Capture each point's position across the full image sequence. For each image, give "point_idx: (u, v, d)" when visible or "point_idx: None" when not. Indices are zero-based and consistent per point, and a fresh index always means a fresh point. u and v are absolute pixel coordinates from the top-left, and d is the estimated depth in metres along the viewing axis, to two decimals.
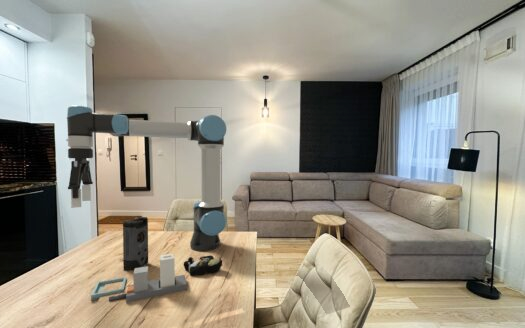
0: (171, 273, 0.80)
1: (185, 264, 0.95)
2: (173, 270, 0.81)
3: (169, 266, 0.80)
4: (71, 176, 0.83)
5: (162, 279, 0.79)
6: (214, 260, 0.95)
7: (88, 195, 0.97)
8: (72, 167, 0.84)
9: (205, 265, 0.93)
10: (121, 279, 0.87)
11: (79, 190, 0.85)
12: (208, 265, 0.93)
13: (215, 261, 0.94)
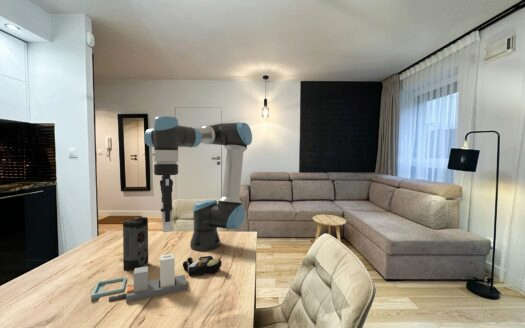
0: (171, 273, 0.80)
1: (184, 264, 0.94)
2: (173, 270, 0.81)
3: (169, 266, 0.80)
4: (164, 196, 0.73)
5: (162, 279, 0.79)
6: (213, 260, 0.94)
7: None
8: (164, 186, 0.74)
9: (204, 265, 0.92)
10: (121, 279, 0.87)
11: (171, 212, 0.75)
12: (207, 265, 0.92)
13: (214, 261, 0.94)
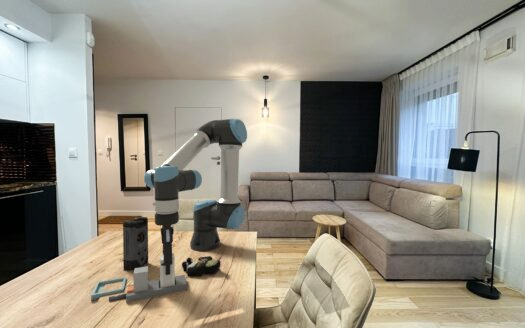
0: None
1: (183, 264, 0.94)
2: (173, 270, 0.81)
3: None
4: (165, 253, 0.76)
5: (162, 279, 0.79)
6: (212, 261, 0.94)
7: None
8: (164, 243, 0.76)
9: (203, 266, 0.92)
10: (121, 279, 0.87)
11: (171, 265, 0.79)
12: (206, 266, 0.92)
13: (213, 262, 0.93)
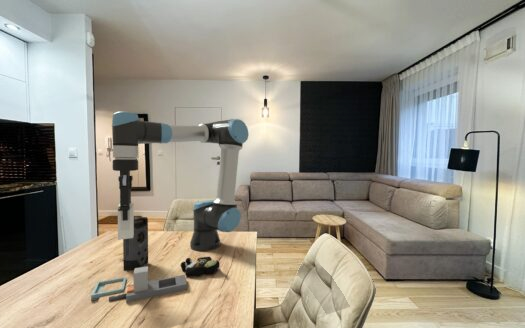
0: None
1: (182, 265, 0.94)
2: (131, 217, 0.80)
3: None
4: (121, 197, 0.75)
5: (119, 225, 0.79)
6: (211, 262, 0.93)
7: None
8: (120, 186, 0.75)
9: (201, 266, 0.91)
10: (121, 279, 0.87)
11: (128, 211, 0.79)
12: (204, 266, 0.92)
13: (212, 263, 0.93)
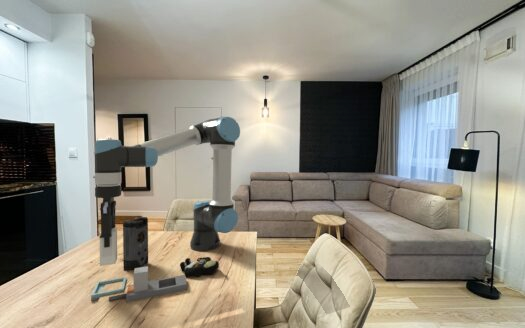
0: None
1: (181, 265, 0.94)
2: (113, 243, 0.81)
3: None
4: (102, 224, 0.76)
5: (101, 252, 0.79)
6: (210, 262, 0.93)
7: None
8: (101, 214, 0.76)
9: (200, 267, 0.91)
10: (121, 279, 0.87)
11: (110, 238, 0.80)
12: (204, 267, 0.91)
13: (211, 263, 0.93)
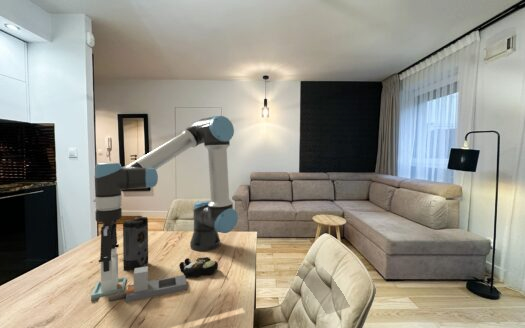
0: (112, 274, 0.81)
1: (181, 265, 0.94)
2: (114, 270, 0.81)
3: None
4: (102, 248, 0.75)
5: None
6: (209, 262, 0.93)
7: None
8: (101, 237, 0.75)
9: (200, 267, 0.91)
10: (121, 279, 0.87)
11: (110, 261, 0.78)
12: (203, 267, 0.91)
13: (210, 263, 0.92)
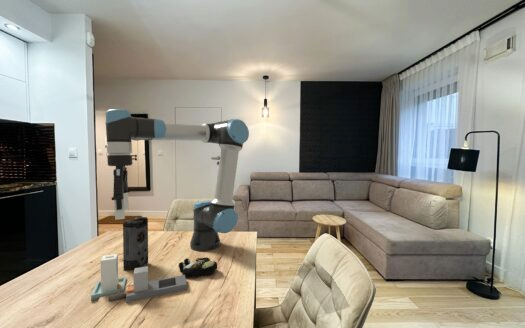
0: (112, 274, 0.81)
1: (180, 265, 0.94)
2: (114, 270, 0.81)
3: (111, 266, 0.80)
4: (115, 185, 0.77)
5: (103, 279, 0.80)
6: (208, 263, 0.92)
7: (126, 204, 0.91)
8: (114, 176, 0.78)
9: (199, 267, 0.91)
10: (121, 279, 0.87)
11: (122, 200, 0.79)
12: (202, 267, 0.91)
13: (209, 264, 0.92)
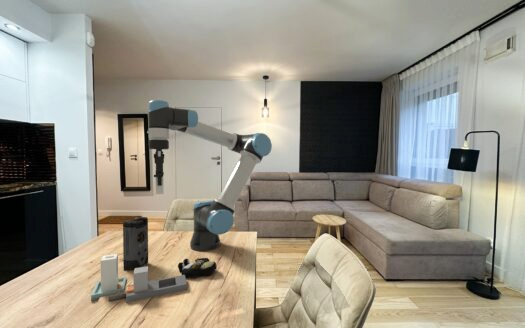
0: (112, 274, 0.81)
1: (179, 265, 0.93)
2: (114, 270, 0.81)
3: (111, 266, 0.80)
4: (157, 164, 0.90)
5: (103, 279, 0.80)
6: (207, 263, 0.92)
7: None
8: (156, 156, 0.91)
9: (198, 268, 0.90)
10: (121, 279, 0.87)
11: (162, 178, 0.92)
12: (201, 268, 0.90)
13: (208, 264, 0.92)
